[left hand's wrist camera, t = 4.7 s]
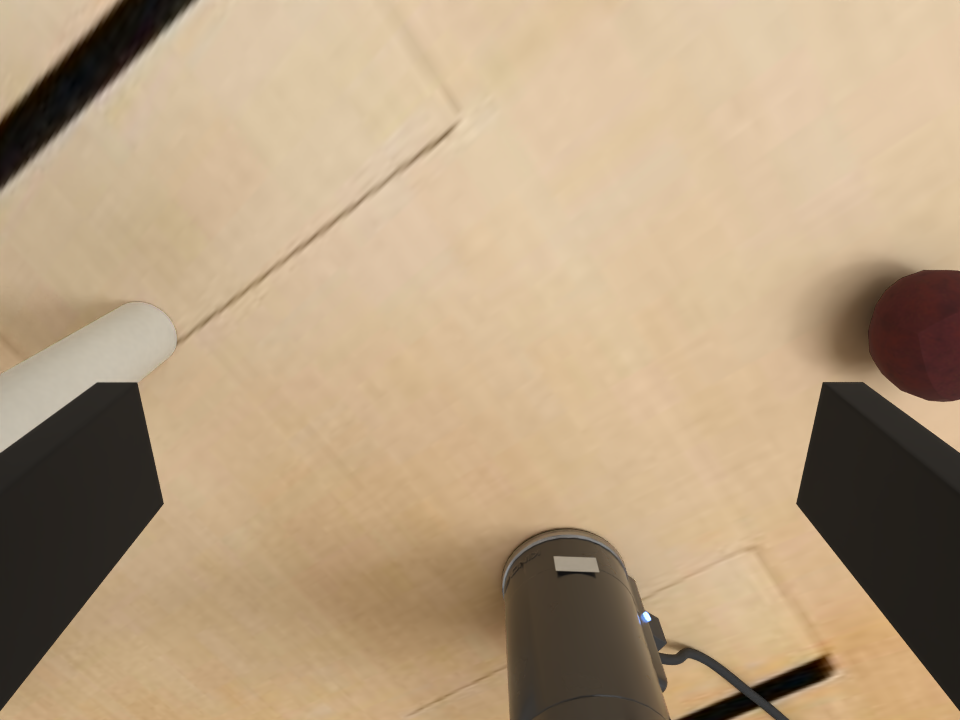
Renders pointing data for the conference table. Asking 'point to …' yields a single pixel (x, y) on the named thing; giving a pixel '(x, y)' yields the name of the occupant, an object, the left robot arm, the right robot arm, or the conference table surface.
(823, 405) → the left robot arm
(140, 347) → the white bottle
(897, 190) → the conference table surface
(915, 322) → the dark red ball
